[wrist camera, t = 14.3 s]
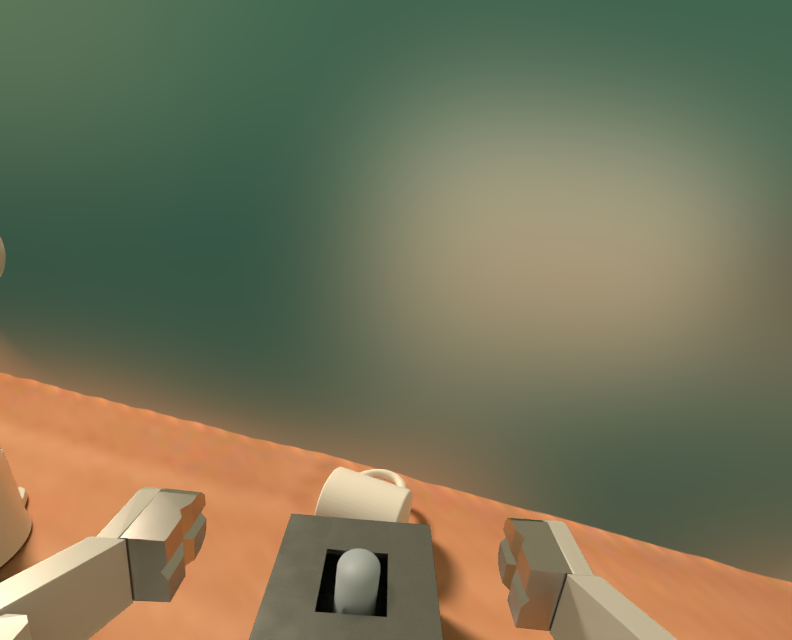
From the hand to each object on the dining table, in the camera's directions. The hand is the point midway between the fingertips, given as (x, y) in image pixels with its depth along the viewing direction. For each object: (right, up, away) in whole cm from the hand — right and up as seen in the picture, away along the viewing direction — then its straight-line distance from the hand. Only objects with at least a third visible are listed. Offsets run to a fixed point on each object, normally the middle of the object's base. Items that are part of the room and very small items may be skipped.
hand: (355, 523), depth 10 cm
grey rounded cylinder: (-3, -25, +24) cm, 35 cm away
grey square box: (-3, -26, +24) cm, 36 cm away
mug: (-3, -22, +40) cm, 46 cm away
